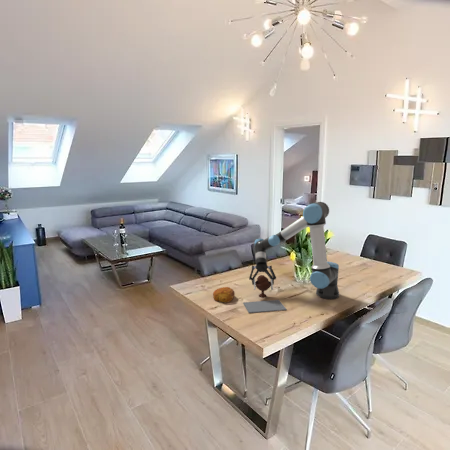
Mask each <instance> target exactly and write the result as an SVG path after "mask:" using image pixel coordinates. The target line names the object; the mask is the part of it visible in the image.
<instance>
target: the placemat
mask: <svg viewBox="0 0 450 450" xmlns="http://www.w3.org/2000/svg"><path fill="white" fill-rule="evenodd" d="M242 304H243V306H244V307H245V310H246V311H247V312H248V314H254V313H255V314H256V313H266V312H267V313H269V312H277V311H278V312H280V311H287V308H286V306H285V305H284V303H282V301H281V300H279V299H271V300H269V299H268V300H257V301H246V302H245V301H244V302H242Z"/></svg>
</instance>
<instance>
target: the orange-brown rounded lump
mask: <svg viewBox="0 0 450 450" xmlns="http://www.w3.org/2000/svg"><path fill="white" fill-rule="evenodd" d="M235 293H236V292H235V290H234V289H233V288H231V287H230V286H222V287H219V288H216V289H215V290H214V291H213V293H212V297H213V299H214V300H215V301H216V302H220V303H231V301H232V300H233V299H234V297H235V295H236V294H235Z"/></svg>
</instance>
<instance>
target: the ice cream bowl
mask: <svg viewBox="0 0 450 450" xmlns="http://www.w3.org/2000/svg"><path fill="white" fill-rule="evenodd" d="M270 281H271V280H269V277H266V276H265V275H262V274H261V275H258V276H257V278H256V280H255V286H256V289H257V290H259V291H261V293H259V294H258V297H259V298H261V299H264V298H266V297H267V294H266V293H265V291H267V290H269V289H270V288H271V282H270Z"/></svg>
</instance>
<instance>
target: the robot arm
mask: <svg viewBox="0 0 450 450" xmlns="http://www.w3.org/2000/svg"><path fill="white" fill-rule="evenodd" d="M302 212H303V213H302V216H301V217H300V218H298V219H297V220H295V221H294V222H292V223H291V224H290V225H288V226H286V227H284V228H283V229H282V230H281V231H279V232H278V233H275V234H272V235H270V236H268V237H267V238H265V239H263V238H262V237H260V238H256V239H255V240H254V253H255V254H254V255H255V265H252V266H251V272H250V274H249V277H248V279H249V280H250V281H251V284H252V286H253V290H254V291H256V289H257V287H256V285H255V282H256V277H257V275H258V274H259V273H265V275H267V276H268V279H270V280H269V281H270V282H271V286H270V288H271V291H273V289H274V285H275V280H277V276H276V274H275V271H274V270H273V266H272V265H268V263H267V251H268V250H270V249H272V248H275V247H277V246H279V245H281V244H283V243H285V242H286V241H287V240H289V239H291V238H292V237H294V236H295V235H296V234H298V233H299V232H301V231H303V230H304V229H305V228H309V234H310V243H311V252H312V263H313V264H312V265H311V274H310V276H309V281H310V283H311V285H312V286H313V287H314V288H316V290H315V294H316V295H317V296H318V297H319V298H321V299H325V300H336V299H339V297H340V291H339V288H338V282H339V281H338V279H339V269H340V266H339V264H338V263H336V262H333V261H328V258H327V247H326V246H327V245H326V238H325V229H324V227H325V225H326V224H327V223H326V218H327V217H328V216H329V214H330V207H329V205H328V204H327V203H325V202H323V201H317V202H314V203H310V204H308V205H306V207H304V209H303V211H302ZM255 269H256V271H255V273H254V270H255ZM253 273H254V275H253Z"/></svg>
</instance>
